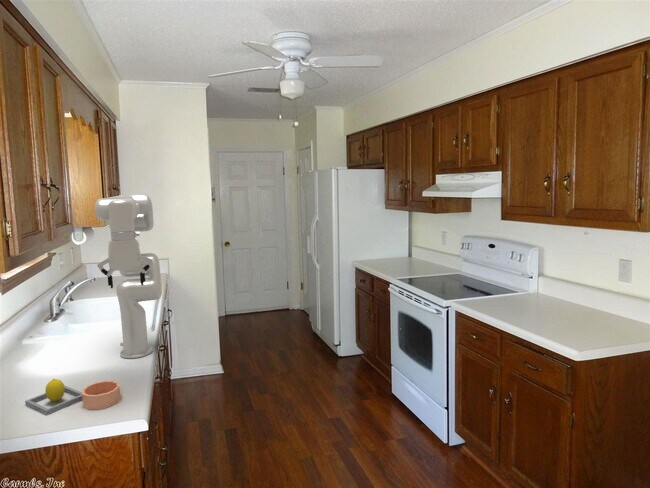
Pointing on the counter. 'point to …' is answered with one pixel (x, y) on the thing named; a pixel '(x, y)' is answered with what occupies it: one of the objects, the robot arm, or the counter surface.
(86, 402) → the bowl
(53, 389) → the lemon
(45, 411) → the gray square frame
